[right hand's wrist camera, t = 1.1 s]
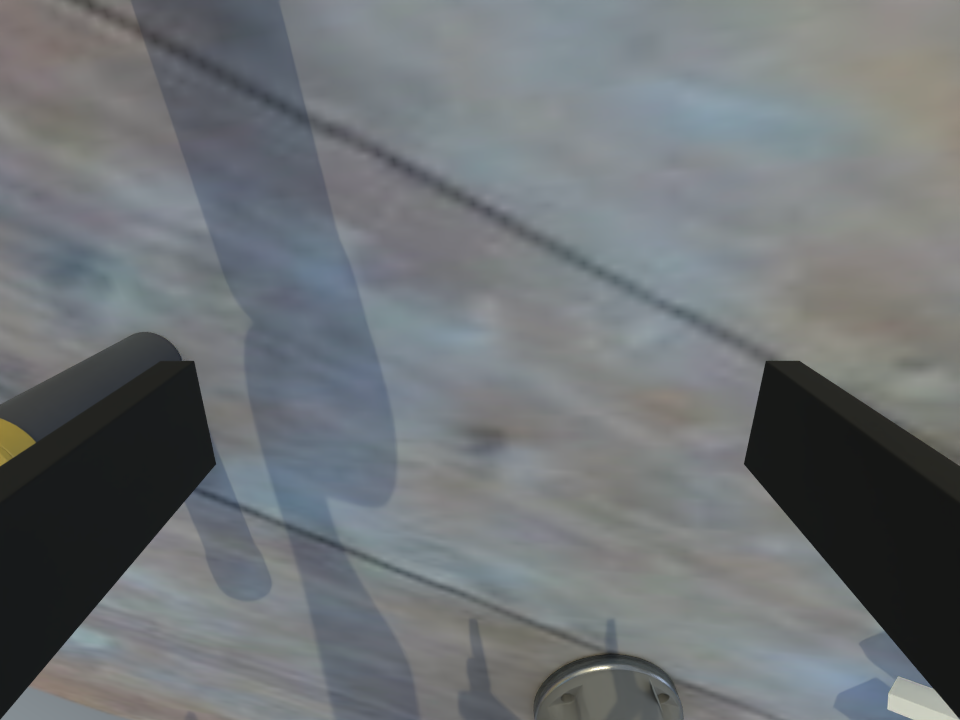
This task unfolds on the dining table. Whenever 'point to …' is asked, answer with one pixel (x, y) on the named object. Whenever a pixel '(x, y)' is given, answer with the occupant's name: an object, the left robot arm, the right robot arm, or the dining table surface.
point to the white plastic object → (918, 701)
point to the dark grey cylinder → (85, 384)
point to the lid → (12, 441)
